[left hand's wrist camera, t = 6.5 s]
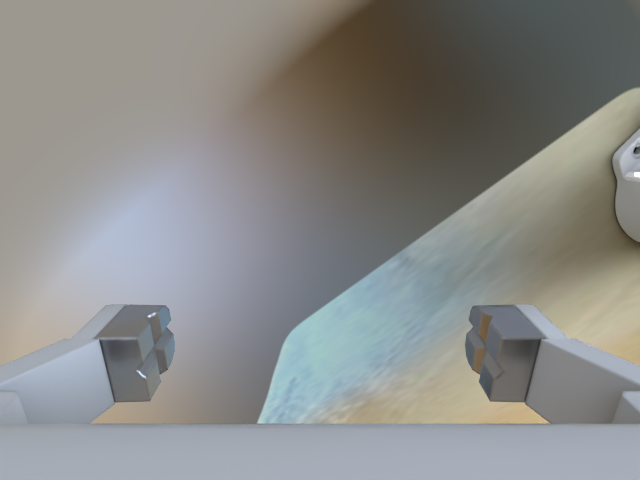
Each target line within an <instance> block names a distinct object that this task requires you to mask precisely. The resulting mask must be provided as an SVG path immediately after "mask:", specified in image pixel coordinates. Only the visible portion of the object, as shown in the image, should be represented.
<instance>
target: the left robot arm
mask: <svg viewBox="0 0 640 480" xmlns="http://www.w3.org/2000/svg"><path fill="white" fill-rule="evenodd" d="M634 148H636V151H635V152H633V150H634ZM612 164H613V169H614V172H615V175H616V178H617V191H616V198H615V210H616V215H617V219H618V222H619V224H620V226H621V227H622V229H623V230H624V231H625V233H626V234H627V235H628V236H630V237H631V238H632V239H634V240H636V241H638V242H640V128H639V129H638V130H637V131H636V132H635V133H634V134H633V135H632V136H631V137H630V138H629V139H628V140H627V141H626V142H625V143H624V144H623V145H622V146H621V147H620V148H619V149H618V150H617V151H616V152H615V154H614V156H613V159H612ZM170 321H171V317H170V312H169V309H168V308H167V306H165V305H127V304H120V305H119V304H118V305H106V306H105V307H104V308H103V309H102V310H101V311H100V312H98V313H97V314H96V315H95V316H94V317H93V318H92V319H91V320H90V321H89V322H88V323H87V324H86V325H85V326H84V327H83V328H82V329H81V330H80V331H79V332H77V333H76V334H75V335H74V336H73V337H72V338H71V339H63V340H61V341H58V342H56V343H54V344H51V345H49V346H47V347H44V348H42V349H40V350H37V351H35V352H33V353H30V354H28V355H26V356H23V357H21V358H19V359H16V360H14V361H12V362H9V363H7V364H4V365H2V366H0V480H640V366H638V365H635V364H633V363H631V362H628V361H626V360H624V359H621V358H619V357H617V356H614V355H612V354H610V353H607V352H605V351H603V350H600V349H598V348H596V347H593V346H591V345H589V344H586V343H584V342H582V341H579V340H577V339H569V338H568V337H567V336H566V335H565V334H564V333H563V332H562V331H560V330H559V329H558V328H557V327H556V326H555V325H554V324H553V323H552V322H551V321H550V320H549V319H548V318H547V317H546V316H545V315H544V314H543V313H542V312H541V311H540V310H538V309H537V308H536V307H535V306H533V305H531V304H522V305H484V306H473V307H472V309H471V311H470V316H469V321H470V322H471V324H472V325H473V328H472V329H471V330H470V331H469V332H468V333H467V335H466V343H465V348H466V356H467V360H468V363H469V365H470V367H471V368H472V370H474V371H475V372H477V373H478V374H480V379H479V383H480V384H481V386H482V388H483V390H484V391H485V393H486V395H487V397H488V398H489V400H490V401H495V402H526V403H525V404H526V405H527V406H529V407H530V408H531V409H533V410H534V411H535V412H536V413H538V414H539V415H540V416H542V417H543V418H544V419H546V420H547V421H548V422H549V423H551V424H89V423H91V422H92V421H93V420H95V419H96V418H97V417H98V416H100V415H101V414H102V413H104V412H105V411H106V410H108V409H109V408H110V407H112V406H113V405H114V404H115V403H114V402H143V401H150V400H151V398H152V397H153V395H154V393H155V391H156V390H157V388H158V386H159V384H160V383H161V379H160V374H162V373H163V372H165V371H166V370H168V368H169V366H170V365H171V363H172V359H173V355H174V350H175V342H174V335H173V333H172V332H171V331H170V330H169V329H168V328H167V325H168V324H169V322H170Z"/></svg>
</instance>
